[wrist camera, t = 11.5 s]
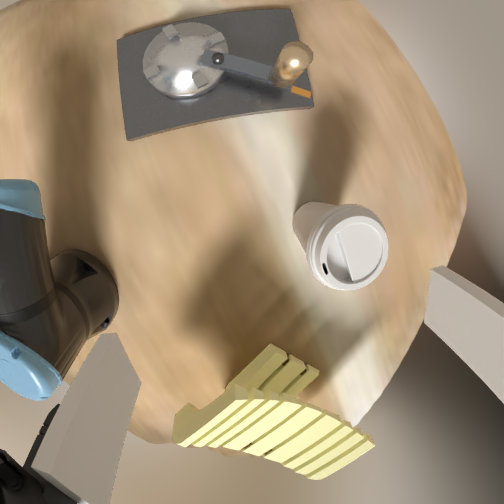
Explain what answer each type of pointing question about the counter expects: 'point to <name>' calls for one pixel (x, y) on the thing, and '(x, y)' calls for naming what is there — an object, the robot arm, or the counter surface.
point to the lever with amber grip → (212, 61)
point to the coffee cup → (341, 243)
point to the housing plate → (227, 90)
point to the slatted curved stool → (274, 419)
